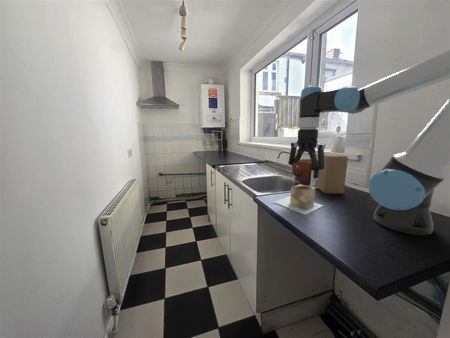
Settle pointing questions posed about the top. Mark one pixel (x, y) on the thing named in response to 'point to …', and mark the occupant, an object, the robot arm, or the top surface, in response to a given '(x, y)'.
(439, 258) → the top surface
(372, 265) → the top surface
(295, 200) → the oak block
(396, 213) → the robot arm
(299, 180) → the mug
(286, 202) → the board
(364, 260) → the top surface
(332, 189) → the wooden block
